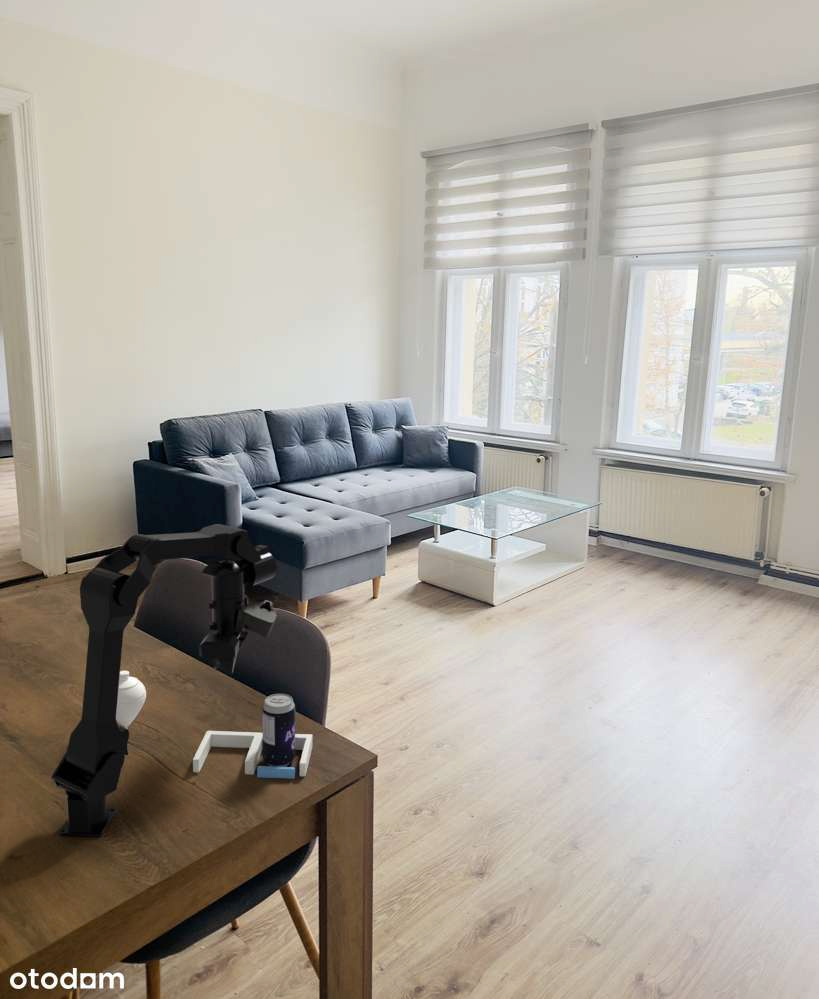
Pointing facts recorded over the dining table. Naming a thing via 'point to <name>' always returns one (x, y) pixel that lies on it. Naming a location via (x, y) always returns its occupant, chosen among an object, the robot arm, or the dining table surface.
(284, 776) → the white open frame
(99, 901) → the dining table surface
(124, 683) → the spinning top
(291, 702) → the beverage can
